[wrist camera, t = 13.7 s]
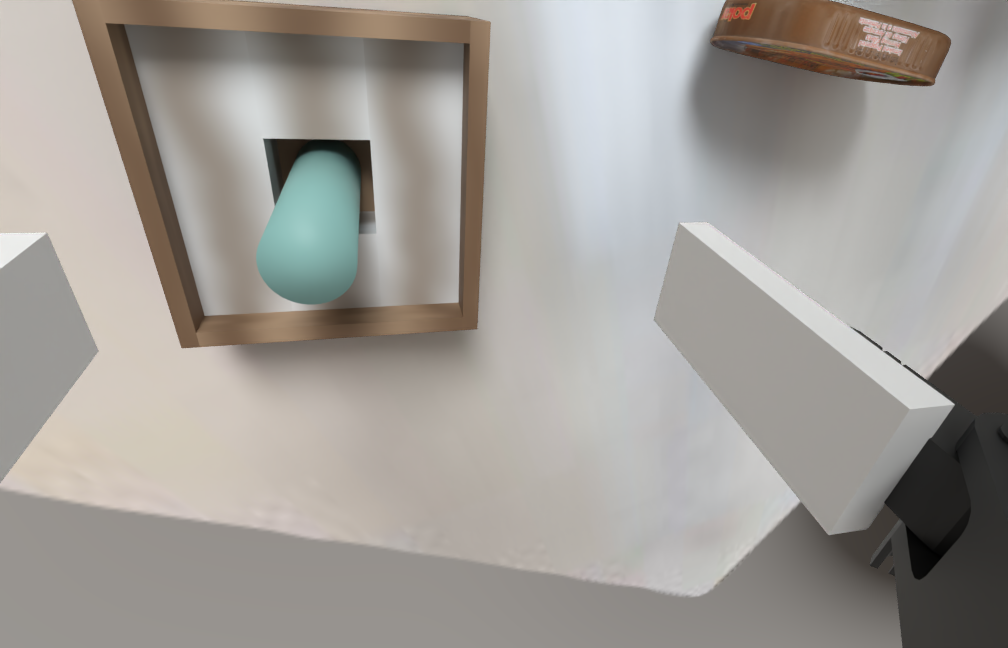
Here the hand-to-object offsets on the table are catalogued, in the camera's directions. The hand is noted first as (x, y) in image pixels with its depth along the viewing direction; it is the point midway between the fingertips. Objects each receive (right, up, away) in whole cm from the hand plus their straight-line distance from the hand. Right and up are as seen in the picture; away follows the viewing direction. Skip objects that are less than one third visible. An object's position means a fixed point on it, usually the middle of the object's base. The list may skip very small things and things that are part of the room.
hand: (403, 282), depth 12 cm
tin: (+22, +19, +25) cm, 38 cm away
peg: (-9, +9, +22) cm, 25 cm away
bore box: (-9, +10, +23) cm, 26 cm away
